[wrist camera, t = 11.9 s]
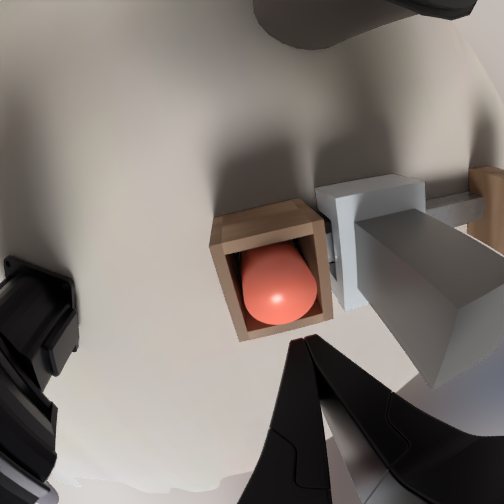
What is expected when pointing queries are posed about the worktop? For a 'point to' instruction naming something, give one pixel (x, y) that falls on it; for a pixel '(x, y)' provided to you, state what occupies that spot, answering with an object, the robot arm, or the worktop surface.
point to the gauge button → (276, 283)
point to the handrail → (437, 213)
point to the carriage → (415, 274)
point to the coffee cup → (344, 17)
